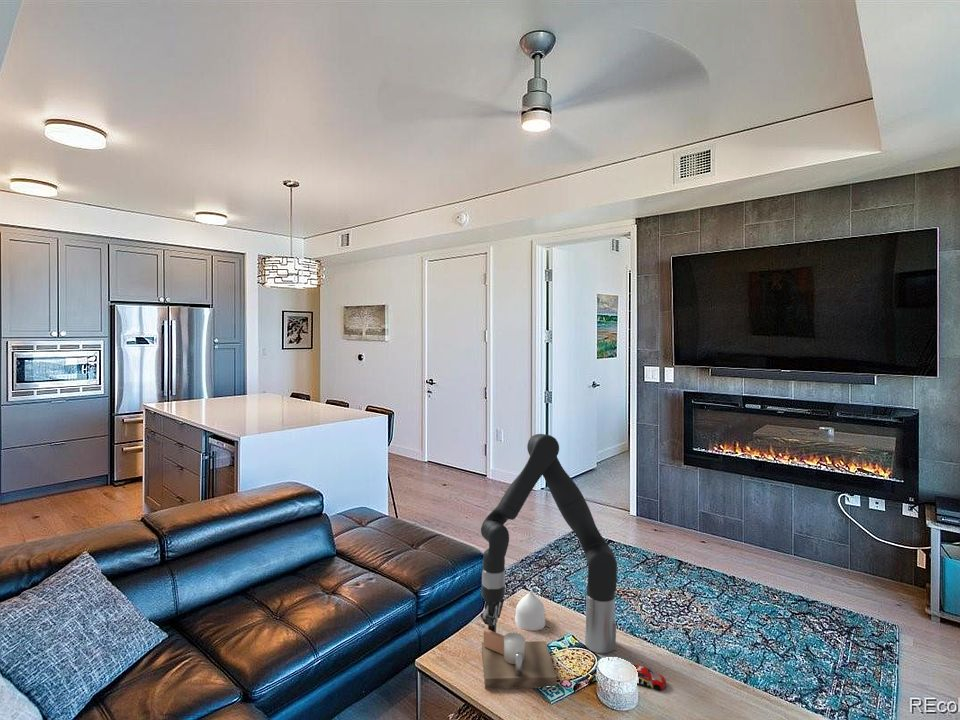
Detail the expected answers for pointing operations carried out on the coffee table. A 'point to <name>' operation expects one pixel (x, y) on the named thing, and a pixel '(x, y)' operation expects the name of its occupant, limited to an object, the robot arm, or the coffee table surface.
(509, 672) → the base
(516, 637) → the white cylinder with panel
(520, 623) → the teardrop
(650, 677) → the race car
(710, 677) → the coffee table surface
